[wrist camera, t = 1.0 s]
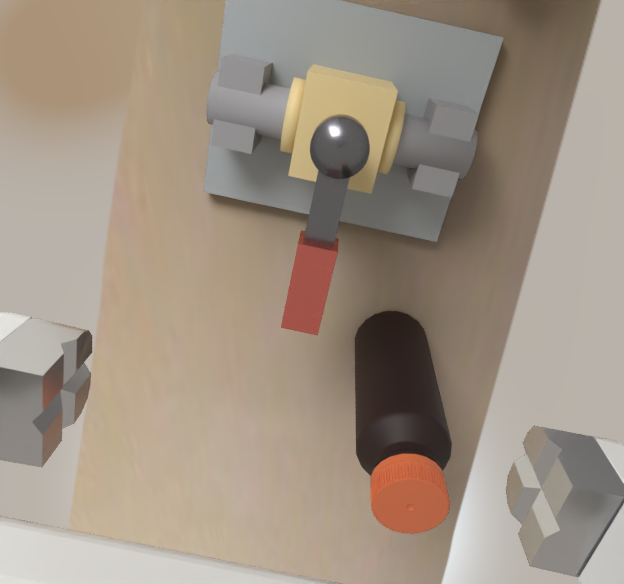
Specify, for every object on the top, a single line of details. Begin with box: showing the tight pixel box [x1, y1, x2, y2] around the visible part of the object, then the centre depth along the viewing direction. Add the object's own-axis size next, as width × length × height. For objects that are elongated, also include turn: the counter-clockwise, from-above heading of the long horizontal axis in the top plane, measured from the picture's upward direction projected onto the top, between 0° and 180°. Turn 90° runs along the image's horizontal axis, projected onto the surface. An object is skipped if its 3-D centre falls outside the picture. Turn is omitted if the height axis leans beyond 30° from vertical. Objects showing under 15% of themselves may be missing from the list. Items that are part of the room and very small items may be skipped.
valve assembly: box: [204, 0, 504, 242], centre depth 39 cm, size 20×16×10 cm
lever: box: [281, 114, 370, 335], centre depth 36 cm, size 4×14×2 cm, turn 168°
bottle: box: [355, 311, 452, 534], centre depth 43 cm, size 7×7×20 cm
